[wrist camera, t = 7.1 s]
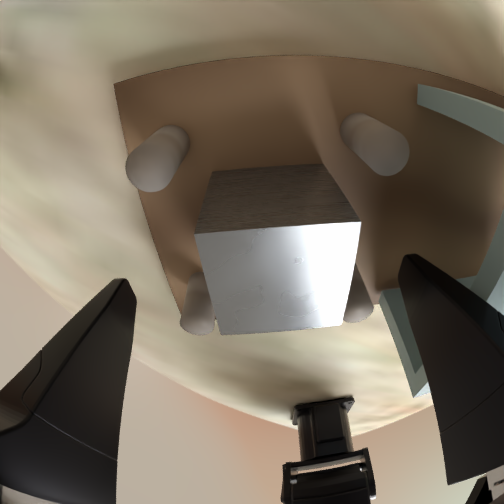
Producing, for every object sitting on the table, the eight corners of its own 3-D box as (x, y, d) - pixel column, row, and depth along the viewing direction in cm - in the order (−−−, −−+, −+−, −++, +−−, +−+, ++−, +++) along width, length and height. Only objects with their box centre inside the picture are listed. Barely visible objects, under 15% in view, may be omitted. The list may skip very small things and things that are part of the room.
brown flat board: (478, 272, 15) (503, 309, 12) (186, 303, 16) (176, 358, 13) (525, 107, 8) (571, 131, 5) (126, 81, 8) (75, 93, 5)
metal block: (319, 251, 12) (341, 325, 9) (226, 258, 12) (221, 334, 9) (323, 163, 10) (361, 221, 6) (211, 171, 10) (194, 234, 7)
